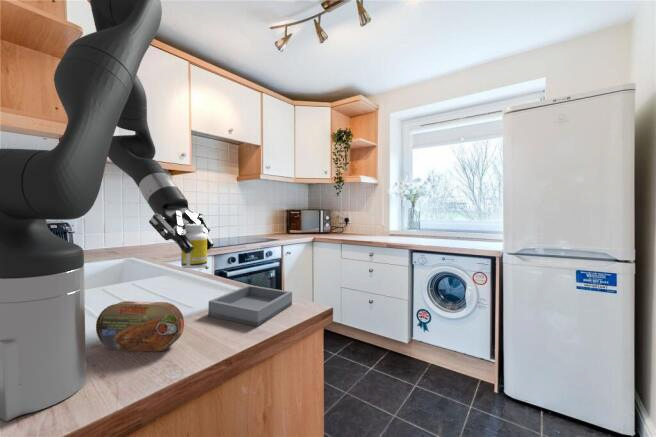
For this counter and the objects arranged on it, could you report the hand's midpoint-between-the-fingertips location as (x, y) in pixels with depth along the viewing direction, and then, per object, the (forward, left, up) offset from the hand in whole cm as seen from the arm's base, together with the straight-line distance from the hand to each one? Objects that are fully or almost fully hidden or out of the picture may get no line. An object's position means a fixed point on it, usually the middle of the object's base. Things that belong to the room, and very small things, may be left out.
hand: (200, 249), depth 65 cm
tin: (-15, -1, -16) cm, 22 cm away
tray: (+9, -8, -16) cm, 20 cm away
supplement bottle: (0, +2, -4) cm, 5 cm away
